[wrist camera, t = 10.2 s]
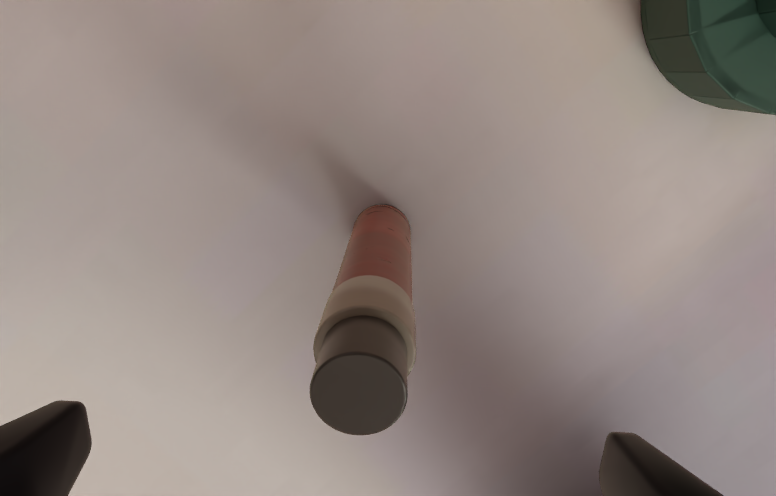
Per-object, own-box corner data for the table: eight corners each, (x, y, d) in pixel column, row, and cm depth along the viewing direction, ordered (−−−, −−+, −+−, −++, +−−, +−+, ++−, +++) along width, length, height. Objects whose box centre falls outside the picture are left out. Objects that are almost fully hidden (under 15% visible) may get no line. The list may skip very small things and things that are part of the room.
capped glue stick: (410, 261, 20) (414, 448, 10) (351, 258, 20) (299, 441, 10) (413, 204, 20) (421, 346, 10) (352, 201, 20) (298, 339, 10)
